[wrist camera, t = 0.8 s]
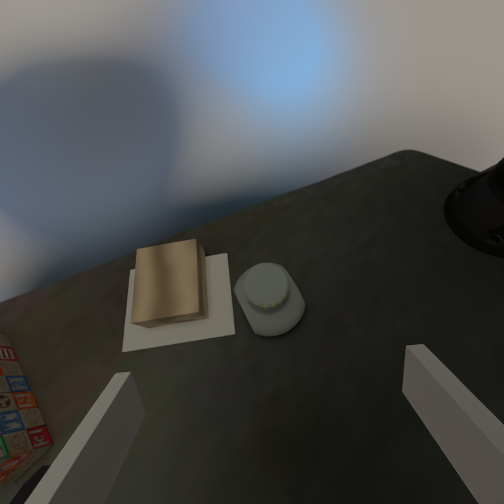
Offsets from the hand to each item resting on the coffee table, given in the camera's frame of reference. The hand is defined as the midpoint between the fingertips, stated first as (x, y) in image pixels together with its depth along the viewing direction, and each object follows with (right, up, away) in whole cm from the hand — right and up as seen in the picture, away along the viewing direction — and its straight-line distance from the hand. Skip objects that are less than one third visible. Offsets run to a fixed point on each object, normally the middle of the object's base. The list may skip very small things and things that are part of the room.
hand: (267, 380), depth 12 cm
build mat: (-13, -2, +29) cm, 32 cm away
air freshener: (+2, -2, +27) cm, 27 cm away
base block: (-13, 0, +29) cm, 32 cm away
